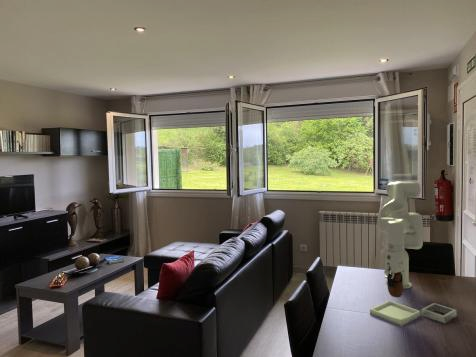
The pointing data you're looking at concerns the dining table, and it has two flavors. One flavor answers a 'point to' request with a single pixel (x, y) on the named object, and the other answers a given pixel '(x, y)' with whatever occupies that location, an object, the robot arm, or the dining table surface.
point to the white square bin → (441, 318)
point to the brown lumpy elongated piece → (396, 286)
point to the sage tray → (395, 313)
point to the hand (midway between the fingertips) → (394, 284)
